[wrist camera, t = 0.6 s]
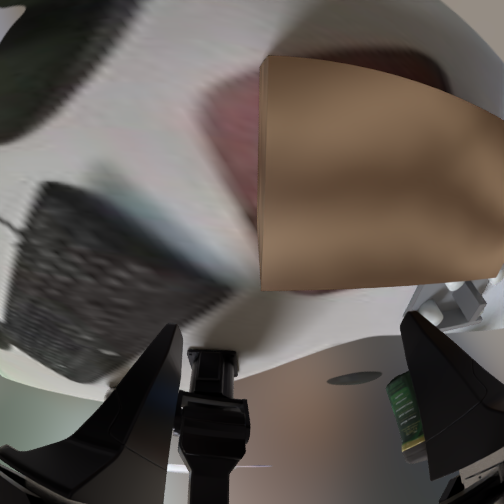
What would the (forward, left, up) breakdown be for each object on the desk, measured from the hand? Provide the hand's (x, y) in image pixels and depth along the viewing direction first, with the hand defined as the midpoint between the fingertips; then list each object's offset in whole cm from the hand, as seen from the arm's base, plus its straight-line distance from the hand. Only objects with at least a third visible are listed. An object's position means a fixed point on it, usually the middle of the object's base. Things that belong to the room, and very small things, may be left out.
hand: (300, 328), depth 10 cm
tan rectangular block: (+3, -9, -14) cm, 17 cm away
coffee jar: (-37, -29, -14) cm, 50 cm away
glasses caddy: (-11, -25, -14) cm, 31 cm away
